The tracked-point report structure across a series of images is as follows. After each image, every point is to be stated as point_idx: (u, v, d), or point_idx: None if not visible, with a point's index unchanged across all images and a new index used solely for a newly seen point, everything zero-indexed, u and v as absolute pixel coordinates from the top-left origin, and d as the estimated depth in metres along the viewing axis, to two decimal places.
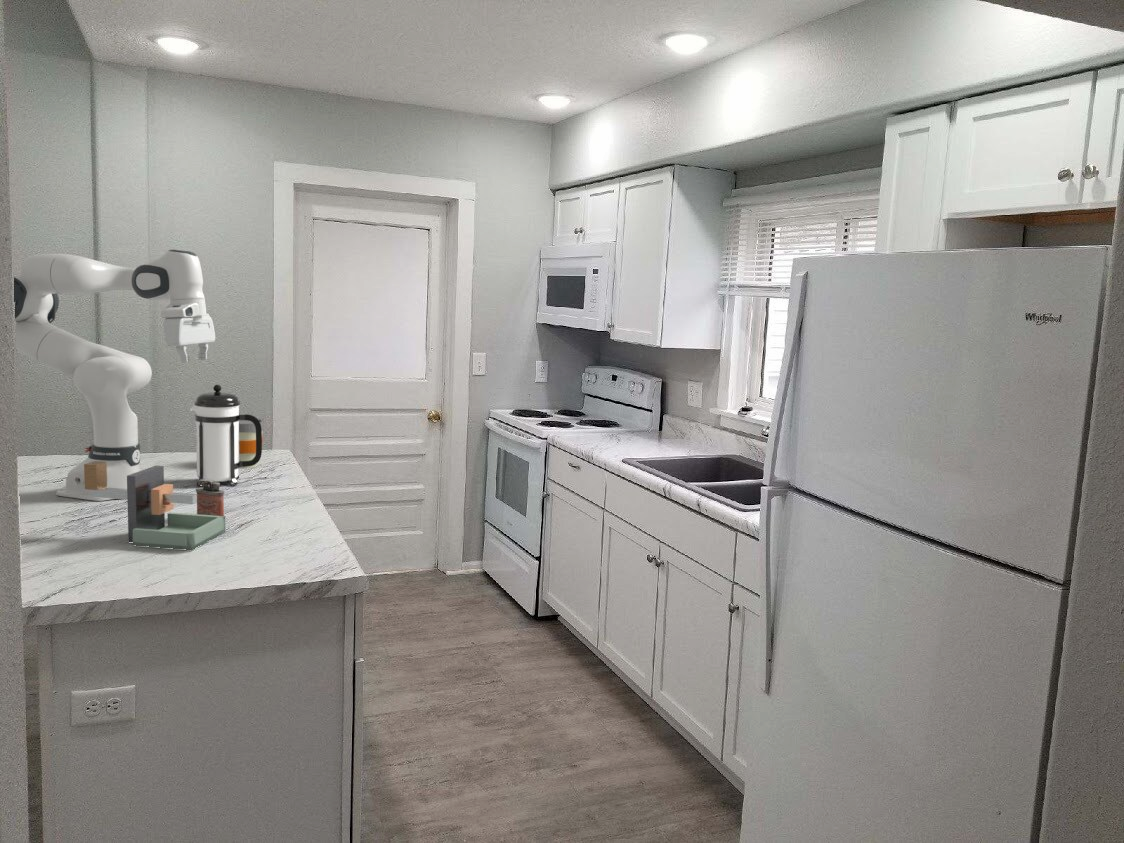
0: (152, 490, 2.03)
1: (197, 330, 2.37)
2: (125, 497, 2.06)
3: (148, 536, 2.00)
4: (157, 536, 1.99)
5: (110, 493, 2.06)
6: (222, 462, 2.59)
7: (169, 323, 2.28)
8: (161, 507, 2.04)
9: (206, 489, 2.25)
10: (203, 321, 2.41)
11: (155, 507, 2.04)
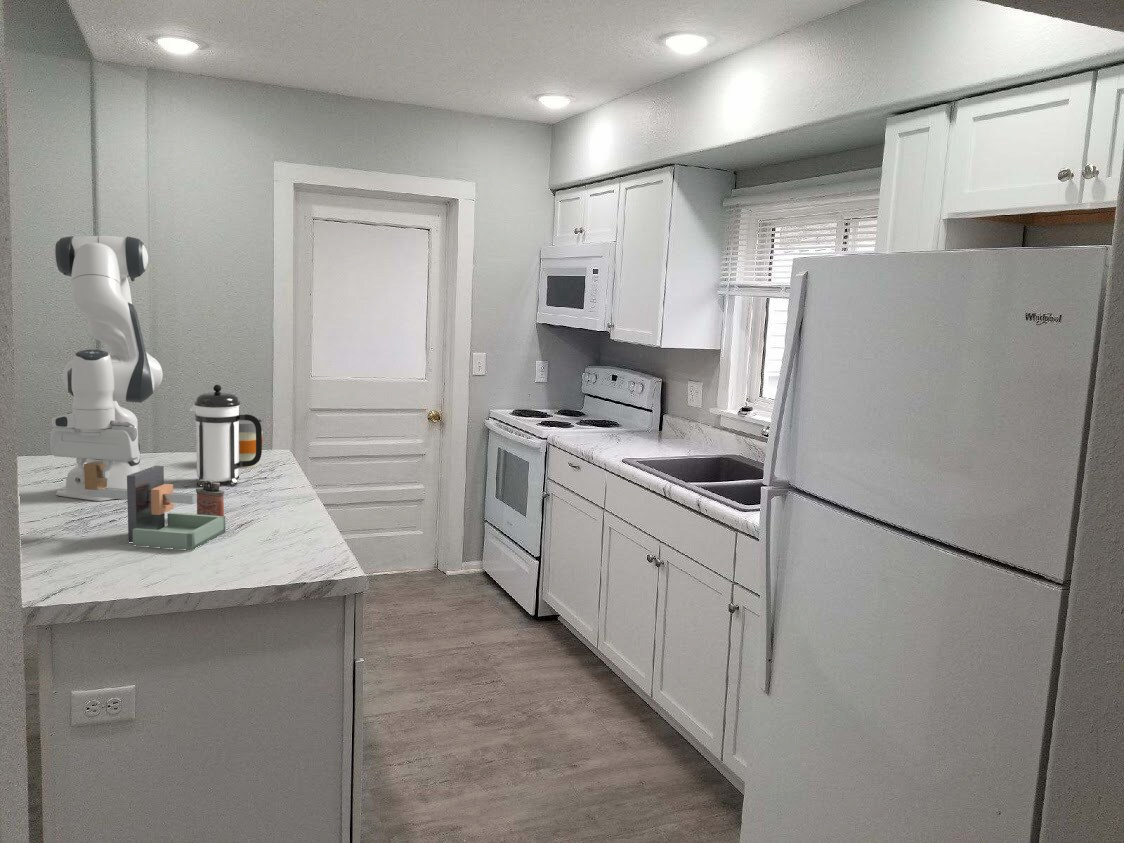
0: (152, 490, 2.03)
1: (91, 443, 2.04)
2: (125, 497, 2.06)
3: (148, 536, 2.00)
4: (157, 536, 1.99)
5: (110, 493, 2.06)
6: (222, 462, 2.59)
7: None
8: (161, 507, 2.04)
9: (206, 489, 2.25)
10: (105, 435, 2.04)
11: (155, 507, 2.04)
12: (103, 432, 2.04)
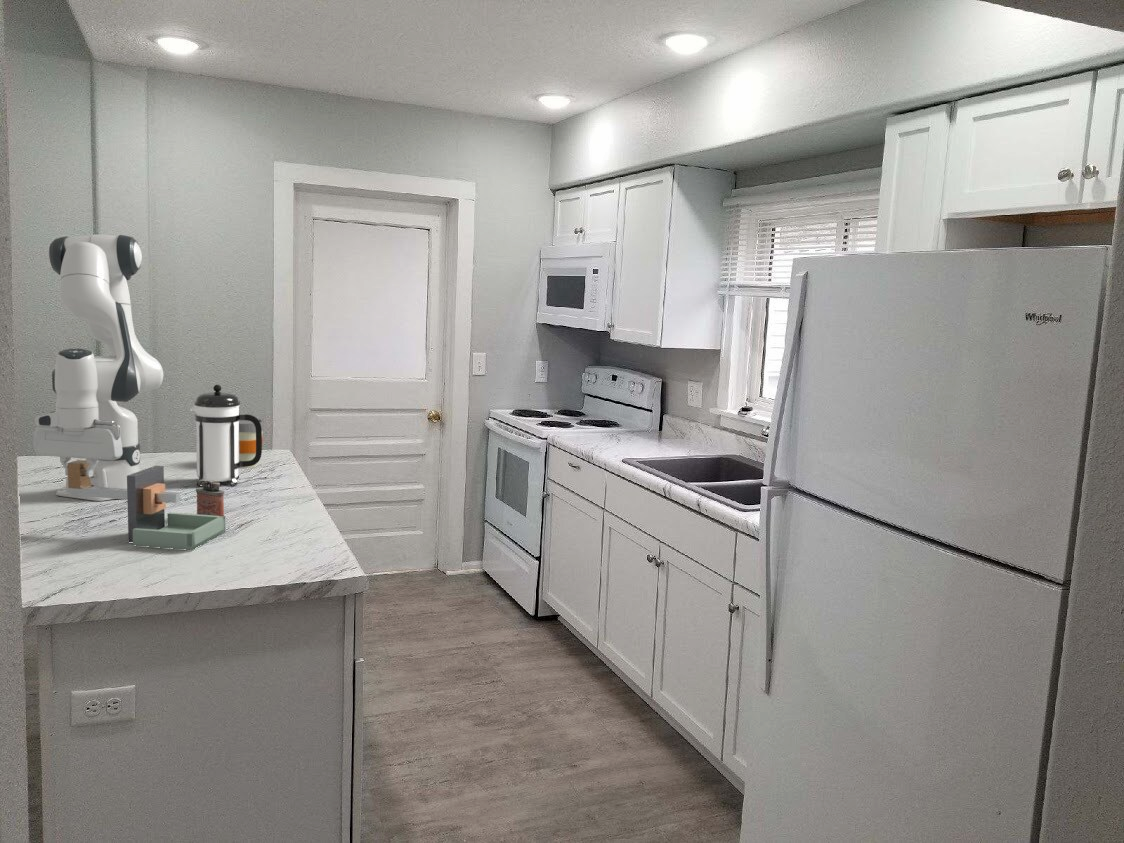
0: (144, 489, 2.03)
1: (74, 442, 2.05)
2: (109, 496, 2.07)
3: (148, 536, 2.00)
4: (157, 536, 1.99)
5: (94, 492, 2.07)
6: (222, 462, 2.59)
7: None
8: (153, 506, 2.05)
9: (206, 489, 2.25)
10: (88, 434, 2.04)
11: (147, 506, 2.04)
12: (86, 431, 2.04)
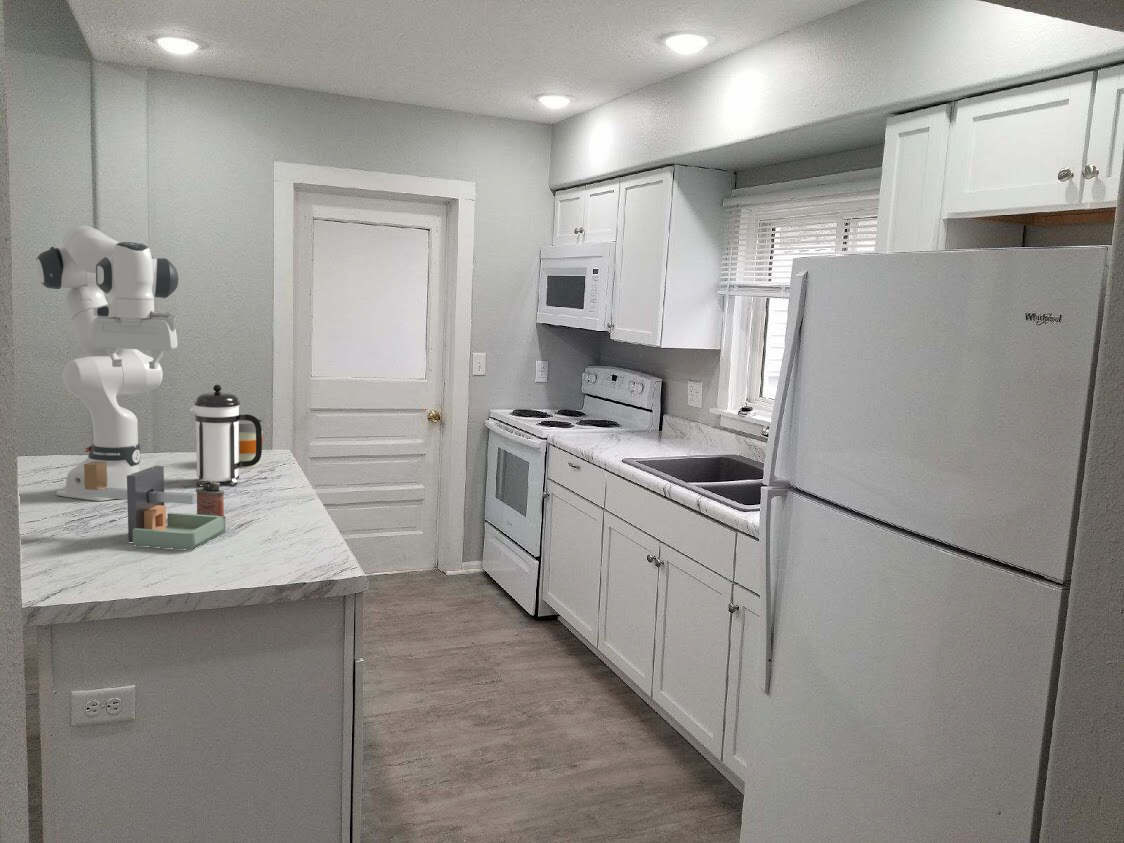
0: (145, 512, 2.04)
1: (131, 333, 2.10)
2: (125, 497, 2.06)
3: (148, 536, 2.00)
4: (157, 536, 1.99)
5: (110, 493, 2.06)
6: (222, 462, 2.59)
7: None
8: (154, 529, 2.05)
9: (206, 489, 2.25)
10: (145, 325, 2.09)
11: None
12: (143, 322, 2.09)
